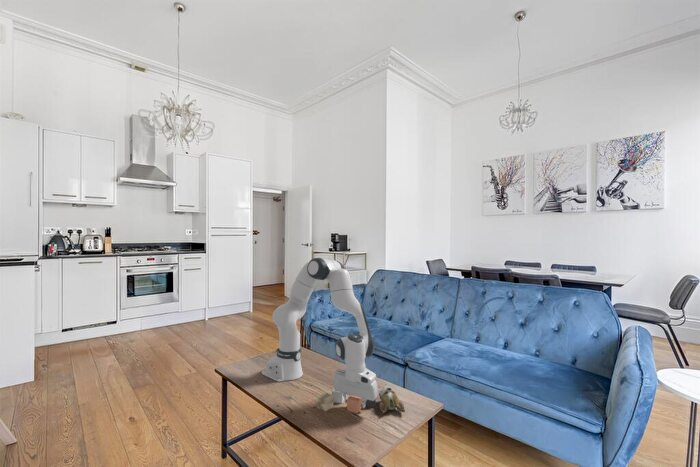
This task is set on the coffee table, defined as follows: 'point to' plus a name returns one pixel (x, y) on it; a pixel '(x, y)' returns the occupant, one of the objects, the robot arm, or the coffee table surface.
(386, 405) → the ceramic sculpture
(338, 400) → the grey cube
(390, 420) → the coffee table surface
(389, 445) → the coffee table surface
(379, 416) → the coffee table surface
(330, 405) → the birch cube
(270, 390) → the coffee table surface
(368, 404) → the black cube
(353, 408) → the terracotta cube
